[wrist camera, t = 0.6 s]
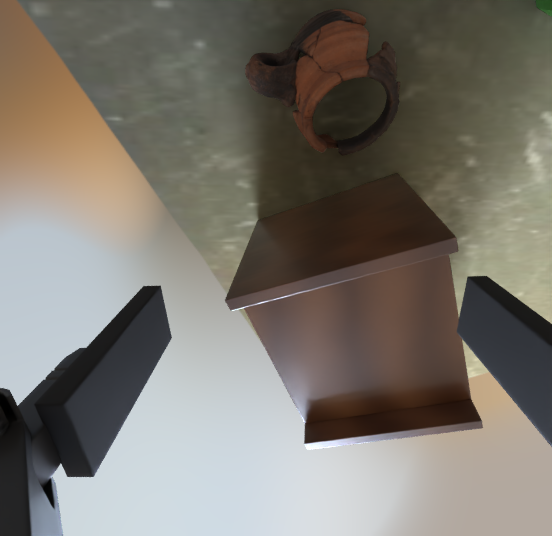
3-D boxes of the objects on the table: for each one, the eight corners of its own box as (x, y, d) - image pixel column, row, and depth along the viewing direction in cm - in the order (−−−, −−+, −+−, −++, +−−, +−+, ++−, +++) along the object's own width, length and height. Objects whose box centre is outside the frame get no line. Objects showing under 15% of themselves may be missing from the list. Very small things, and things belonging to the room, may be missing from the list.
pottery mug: (395, 0, 25) (436, 51, 21) (358, 113, 33) (382, 167, 29) (241, -12, 23) (251, 42, 19) (241, 111, 31) (248, 168, 27)
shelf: (398, 172, 31) (456, 236, 18) (427, 313, 39) (483, 428, 26) (257, 220, 35) (224, 300, 22) (309, 339, 43) (307, 450, 30)
